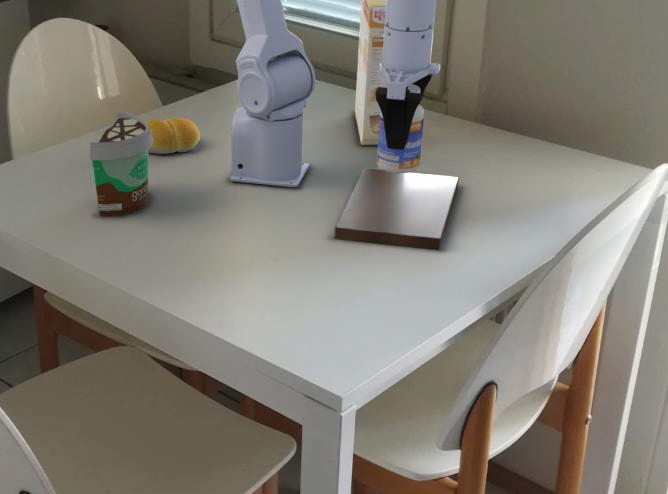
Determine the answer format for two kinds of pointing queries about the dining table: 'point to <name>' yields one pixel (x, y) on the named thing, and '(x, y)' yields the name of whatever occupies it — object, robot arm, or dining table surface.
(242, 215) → the dining table surface
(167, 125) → the bread roll
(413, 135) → the pill bottle
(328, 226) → the dining table surface
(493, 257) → the dining table surface
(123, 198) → the food container
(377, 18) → the coffeecake box
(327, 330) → the dining table surface
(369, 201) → the walnut board
